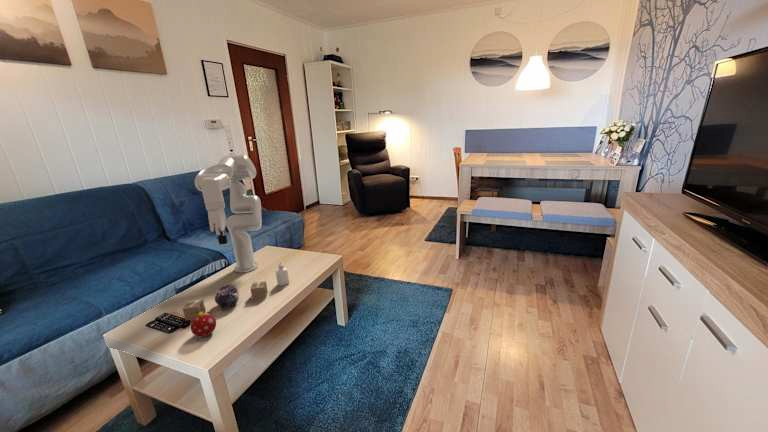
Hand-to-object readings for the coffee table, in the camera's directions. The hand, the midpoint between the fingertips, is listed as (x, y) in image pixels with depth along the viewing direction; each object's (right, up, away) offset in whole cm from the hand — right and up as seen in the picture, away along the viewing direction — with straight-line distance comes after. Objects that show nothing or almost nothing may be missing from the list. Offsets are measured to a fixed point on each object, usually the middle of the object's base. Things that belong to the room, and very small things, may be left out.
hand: (223, 243), depth 143 cm
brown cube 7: (-7, -30, -9) cm, 33 cm away
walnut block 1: (+15, -25, +5) cm, 30 cm away
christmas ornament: (+4, -34, -21) cm, 40 cm away
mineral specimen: (+3, -28, -2) cm, 28 cm away
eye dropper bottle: (+23, -22, +15) cm, 35 cm away
